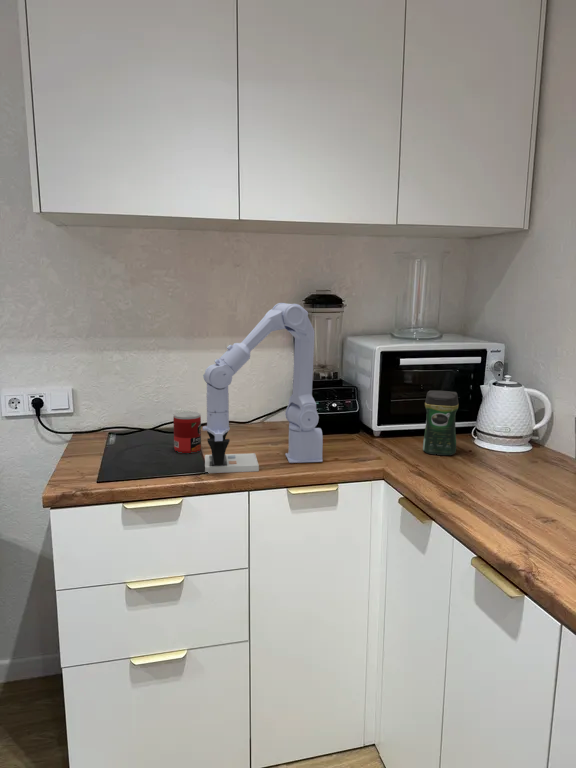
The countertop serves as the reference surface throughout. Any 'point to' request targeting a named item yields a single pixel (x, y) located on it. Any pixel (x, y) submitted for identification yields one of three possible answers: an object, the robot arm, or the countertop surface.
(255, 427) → the countertop surface
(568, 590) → the countertop surface
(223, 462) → the plug
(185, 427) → the canned food
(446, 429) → the coffee jar
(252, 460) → the socket board
